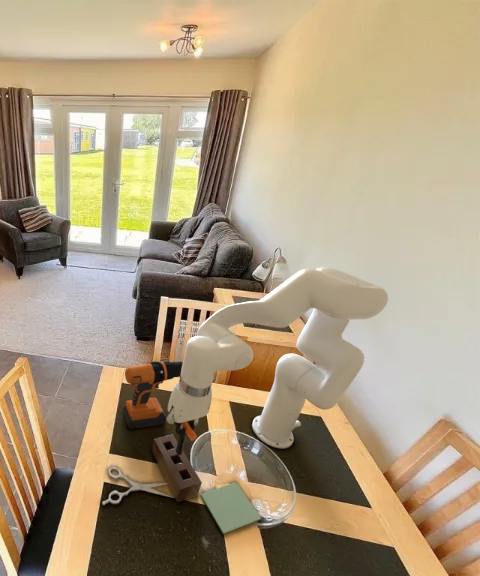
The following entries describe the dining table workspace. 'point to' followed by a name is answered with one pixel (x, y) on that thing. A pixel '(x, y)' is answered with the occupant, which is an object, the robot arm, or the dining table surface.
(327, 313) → the robot arm
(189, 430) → the t handle
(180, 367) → the power drill
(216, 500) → the mat
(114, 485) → the dining table surface
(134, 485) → the scissors
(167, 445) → the rack
